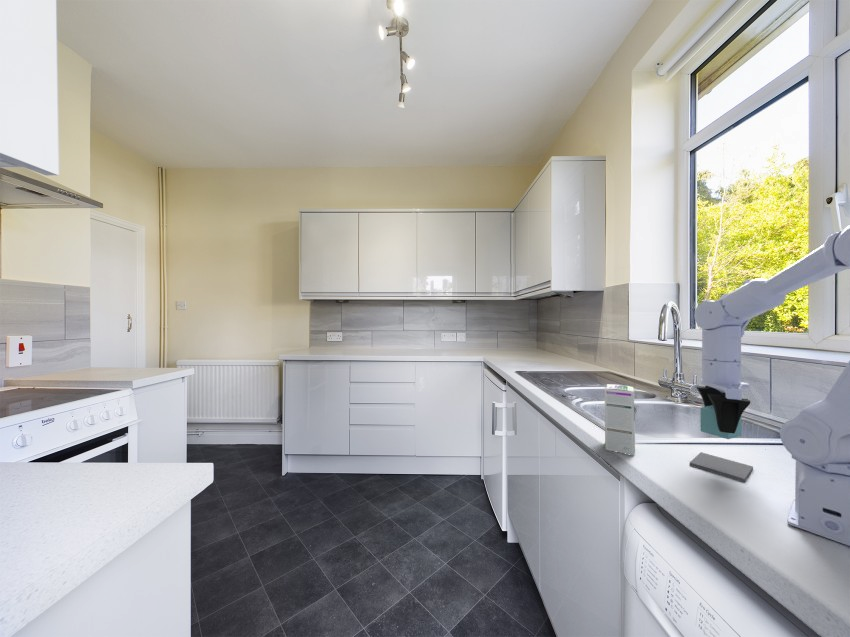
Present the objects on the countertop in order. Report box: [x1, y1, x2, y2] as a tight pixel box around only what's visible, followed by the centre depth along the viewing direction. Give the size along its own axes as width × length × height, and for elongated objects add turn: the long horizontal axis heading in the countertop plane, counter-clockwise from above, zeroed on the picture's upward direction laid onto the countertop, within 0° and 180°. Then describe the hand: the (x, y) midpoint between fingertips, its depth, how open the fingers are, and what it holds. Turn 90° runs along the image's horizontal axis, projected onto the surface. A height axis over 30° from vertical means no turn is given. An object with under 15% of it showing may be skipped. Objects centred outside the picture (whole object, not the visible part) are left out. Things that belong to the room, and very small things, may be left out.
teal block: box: [700, 405, 743, 440], centre depth 63 cm, size 4×4×5 cm
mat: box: [689, 451, 754, 483], centre depth 63 cm, size 8×8×1 cm
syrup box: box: [604, 383, 636, 456], centre depth 71 cm, size 6×6×14 cm
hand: (720, 426), depth 63 cm, fingers closed on teal block, 6 cm apart
